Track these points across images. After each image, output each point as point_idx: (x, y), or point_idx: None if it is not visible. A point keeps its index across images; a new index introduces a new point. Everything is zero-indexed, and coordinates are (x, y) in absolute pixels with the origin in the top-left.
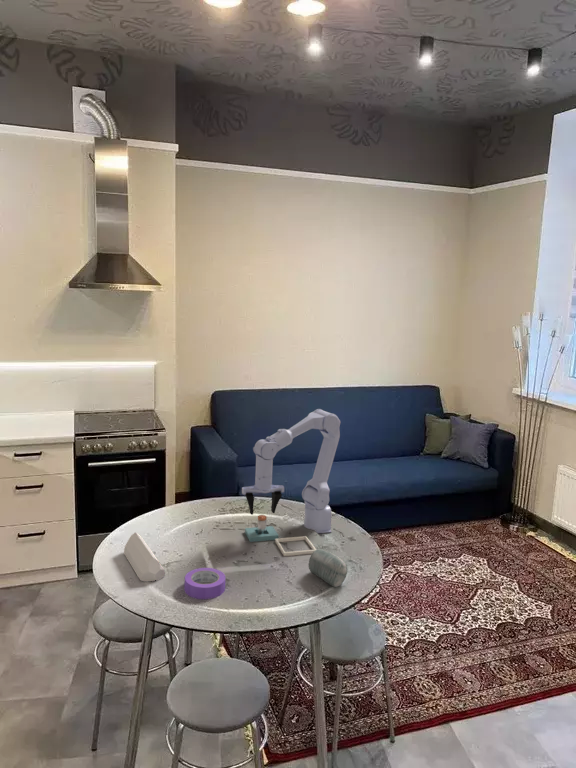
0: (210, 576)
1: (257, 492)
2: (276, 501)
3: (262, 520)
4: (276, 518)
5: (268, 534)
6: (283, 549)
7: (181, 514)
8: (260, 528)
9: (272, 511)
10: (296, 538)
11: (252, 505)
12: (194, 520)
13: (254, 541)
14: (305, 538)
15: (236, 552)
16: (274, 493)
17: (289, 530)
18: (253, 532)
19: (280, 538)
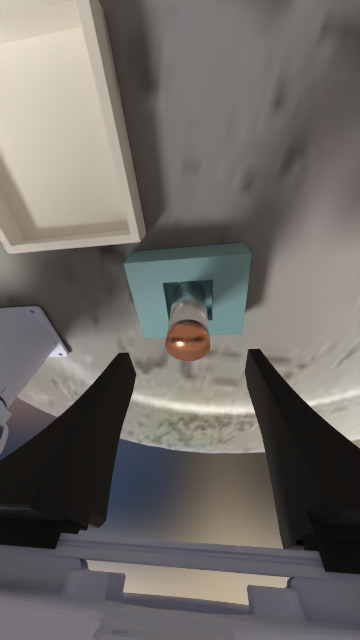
0: None
1: (252, 559)
2: (70, 421)
3: (189, 321)
4: (133, 389)
5: (165, 275)
6: (93, 69)
7: (339, 421)
8: (197, 300)
9: (128, 363)
10: (49, 241)
11: (282, 400)
12: (328, 400)
13: (227, 249)
14: (12, 240)
15: (324, 180)
16: (57, 520)
17: (98, 335)
18: (222, 299)
19: (116, 241)
